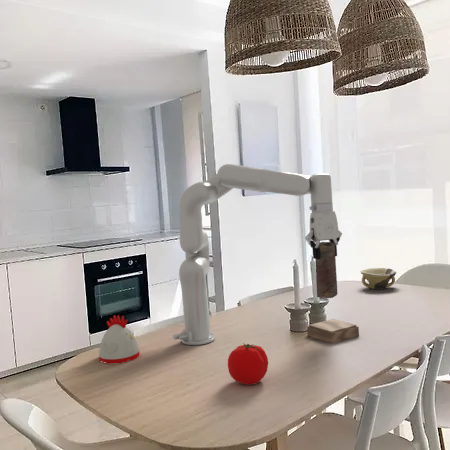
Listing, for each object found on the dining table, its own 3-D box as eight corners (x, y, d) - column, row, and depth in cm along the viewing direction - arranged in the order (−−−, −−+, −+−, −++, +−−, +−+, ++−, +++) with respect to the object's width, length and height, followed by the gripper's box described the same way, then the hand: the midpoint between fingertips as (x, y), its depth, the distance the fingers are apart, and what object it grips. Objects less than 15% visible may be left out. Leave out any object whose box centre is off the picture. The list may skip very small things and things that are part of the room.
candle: (337, 294, 181) (333, 240, 180) (339, 299, 174) (335, 243, 173) (316, 296, 182) (312, 242, 181) (317, 300, 175) (313, 244, 173)
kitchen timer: (126, 365, 164) (122, 320, 163) (91, 363, 169) (87, 320, 168) (146, 351, 177) (143, 310, 176) (114, 350, 182) (110, 310, 181)
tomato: (239, 393, 134) (236, 353, 133) (222, 379, 144) (219, 342, 144) (277, 383, 139) (274, 344, 138) (258, 371, 149) (256, 335, 148)
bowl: (363, 292, 248) (362, 274, 247) (359, 285, 265) (358, 268, 265) (399, 291, 245) (398, 272, 244) (393, 284, 262) (392, 266, 262)
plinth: (331, 343, 170) (330, 332, 170) (307, 335, 182) (306, 324, 182) (359, 335, 177) (358, 324, 177) (334, 328, 188) (333, 318, 188)
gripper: (309, 210, 169) (313, 261, 170) (347, 206, 177) (350, 255, 178) (296, 210, 175) (299, 259, 176) (333, 206, 184) (336, 253, 185)
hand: (325, 257), depth 177 cm, fingers closed on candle, 7 cm apart
